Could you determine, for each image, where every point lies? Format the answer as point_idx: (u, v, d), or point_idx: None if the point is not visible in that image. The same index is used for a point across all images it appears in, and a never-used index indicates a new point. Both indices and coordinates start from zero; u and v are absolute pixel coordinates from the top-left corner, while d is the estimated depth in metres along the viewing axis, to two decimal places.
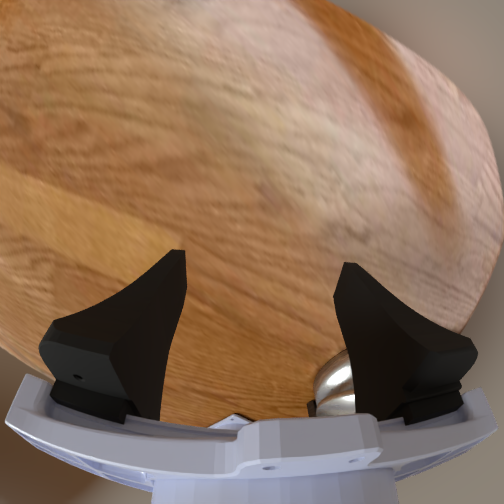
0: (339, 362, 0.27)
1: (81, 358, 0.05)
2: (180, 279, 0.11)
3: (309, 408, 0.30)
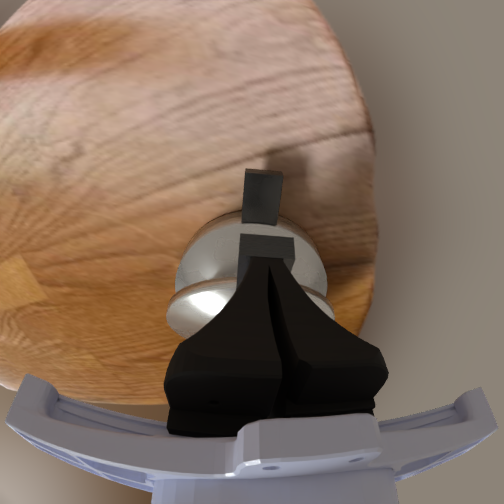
0: None
1: (238, 383, 0.05)
2: None
3: None
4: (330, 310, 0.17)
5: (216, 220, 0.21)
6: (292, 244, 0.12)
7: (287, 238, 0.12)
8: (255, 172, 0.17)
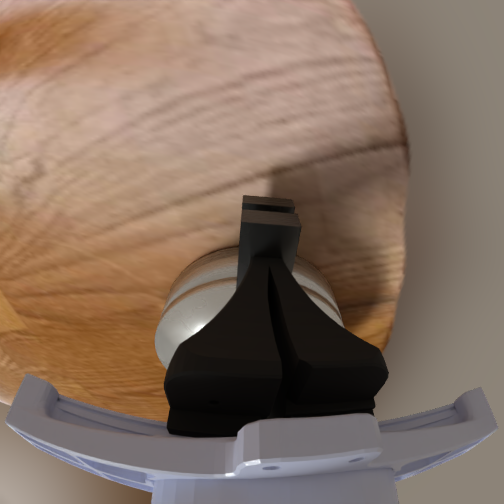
0: None
1: (238, 383, 0.05)
2: None
3: None
4: (341, 322, 0.15)
5: (207, 259, 0.16)
6: (296, 218, 0.12)
7: (290, 214, 0.12)
8: (257, 201, 0.13)
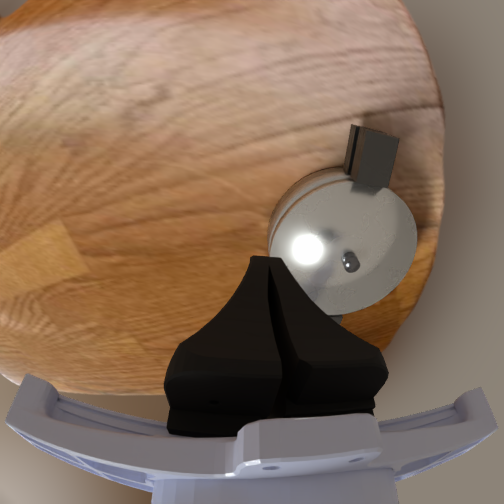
0: (269, 232, 0.22)
1: (239, 383, 0.05)
2: None
3: None
4: (414, 222, 0.19)
5: (315, 174, 0.20)
6: None
7: (388, 134, 0.16)
8: (363, 127, 0.17)
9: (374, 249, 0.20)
